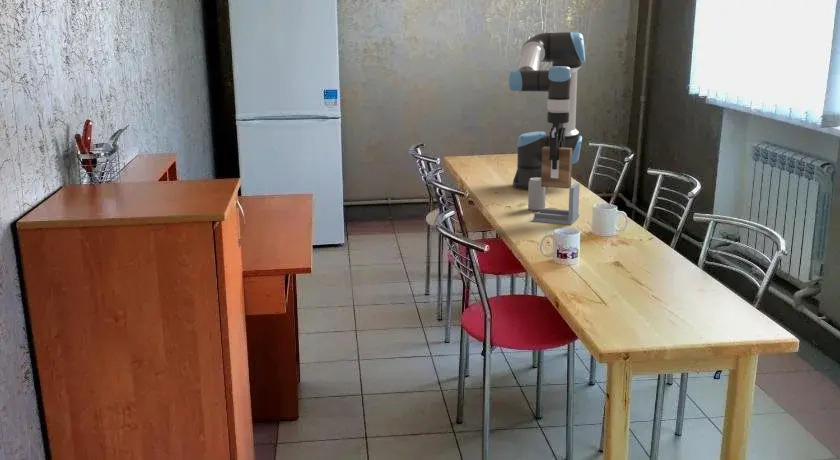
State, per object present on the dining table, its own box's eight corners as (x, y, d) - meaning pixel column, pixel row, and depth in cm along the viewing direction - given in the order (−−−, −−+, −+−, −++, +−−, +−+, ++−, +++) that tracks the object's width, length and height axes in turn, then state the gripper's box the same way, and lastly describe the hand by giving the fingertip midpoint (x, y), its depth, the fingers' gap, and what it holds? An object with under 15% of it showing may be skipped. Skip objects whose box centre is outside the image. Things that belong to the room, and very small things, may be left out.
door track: (541, 213, 295) (542, 179, 292) (579, 216, 289) (580, 182, 286) (532, 221, 284) (533, 185, 281) (571, 224, 279) (572, 188, 275)
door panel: (543, 184, 287) (544, 146, 284) (570, 186, 283) (572, 148, 280) (541, 186, 284) (542, 148, 280) (568, 188, 280) (569, 149, 276)
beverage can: (544, 211, 297) (545, 180, 294) (527, 211, 299) (528, 180, 295) (545, 207, 303) (546, 177, 300) (528, 207, 305) (529, 176, 301)
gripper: (553, 108, 285) (551, 172, 292) (541, 113, 271) (539, 180, 277) (574, 109, 282) (572, 173, 289) (563, 114, 268) (560, 182, 274)
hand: (556, 176), depth 283 cm, fingers closed on door panel, 3 cm apart
